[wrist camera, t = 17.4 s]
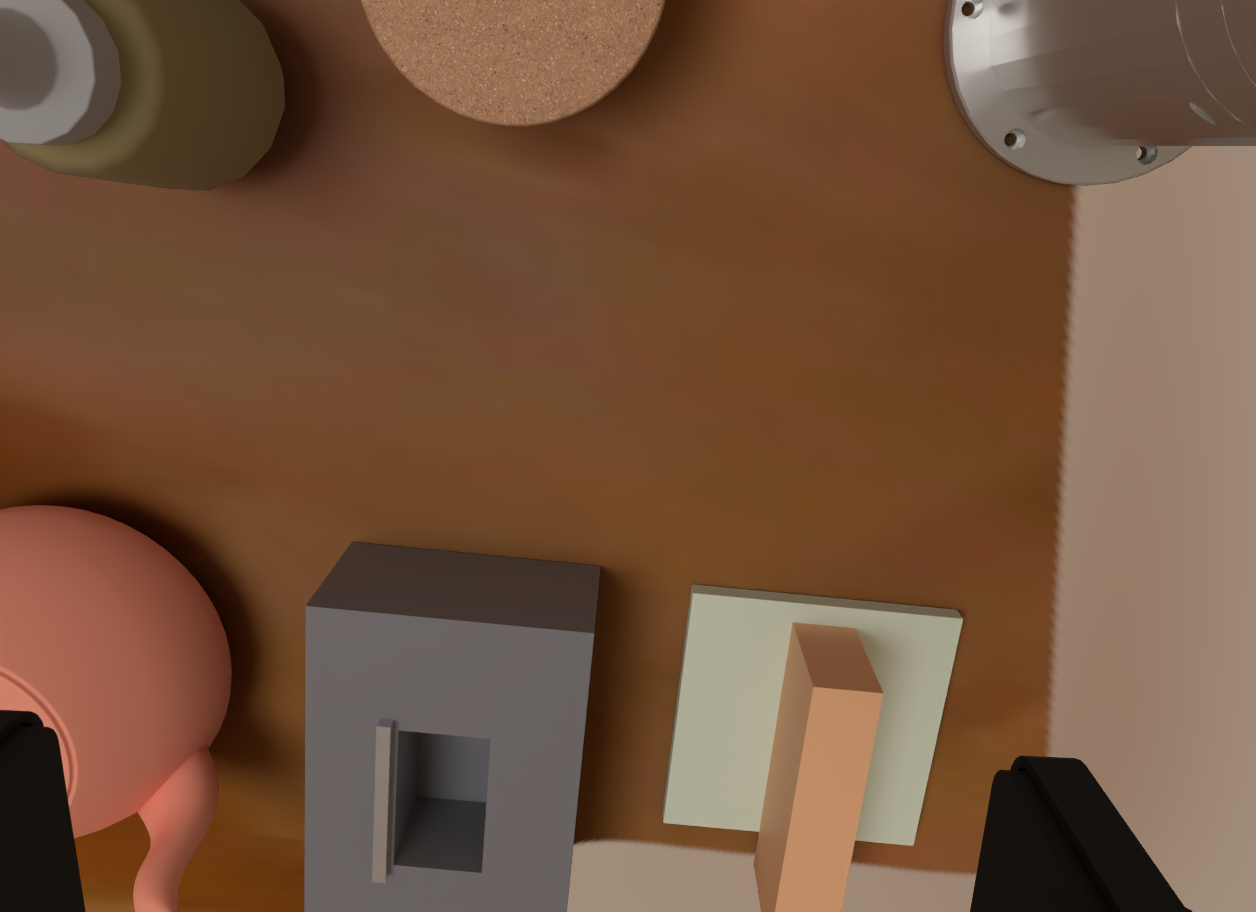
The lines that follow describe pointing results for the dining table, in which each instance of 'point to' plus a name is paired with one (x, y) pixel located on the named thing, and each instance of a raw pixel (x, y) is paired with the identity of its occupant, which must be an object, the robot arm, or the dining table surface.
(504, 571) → the dispenser
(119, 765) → the teapot
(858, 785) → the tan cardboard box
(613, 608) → the dining table surface
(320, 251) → the dining table surface
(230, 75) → the squeeze bottle
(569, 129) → the dining table surface
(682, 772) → the mat
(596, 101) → the lidded jar
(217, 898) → the dining table surface
